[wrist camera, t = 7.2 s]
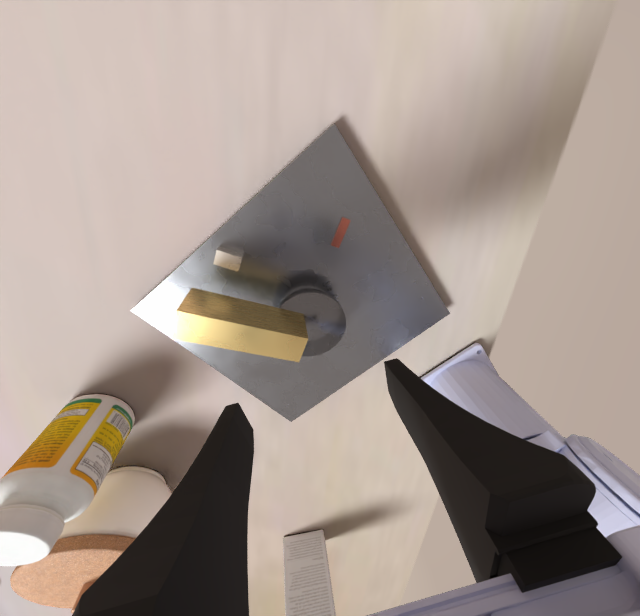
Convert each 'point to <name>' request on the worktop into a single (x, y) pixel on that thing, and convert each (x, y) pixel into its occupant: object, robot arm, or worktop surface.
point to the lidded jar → (94, 538)
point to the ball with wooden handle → (262, 323)
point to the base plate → (308, 276)
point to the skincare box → (307, 575)
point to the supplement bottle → (59, 475)
